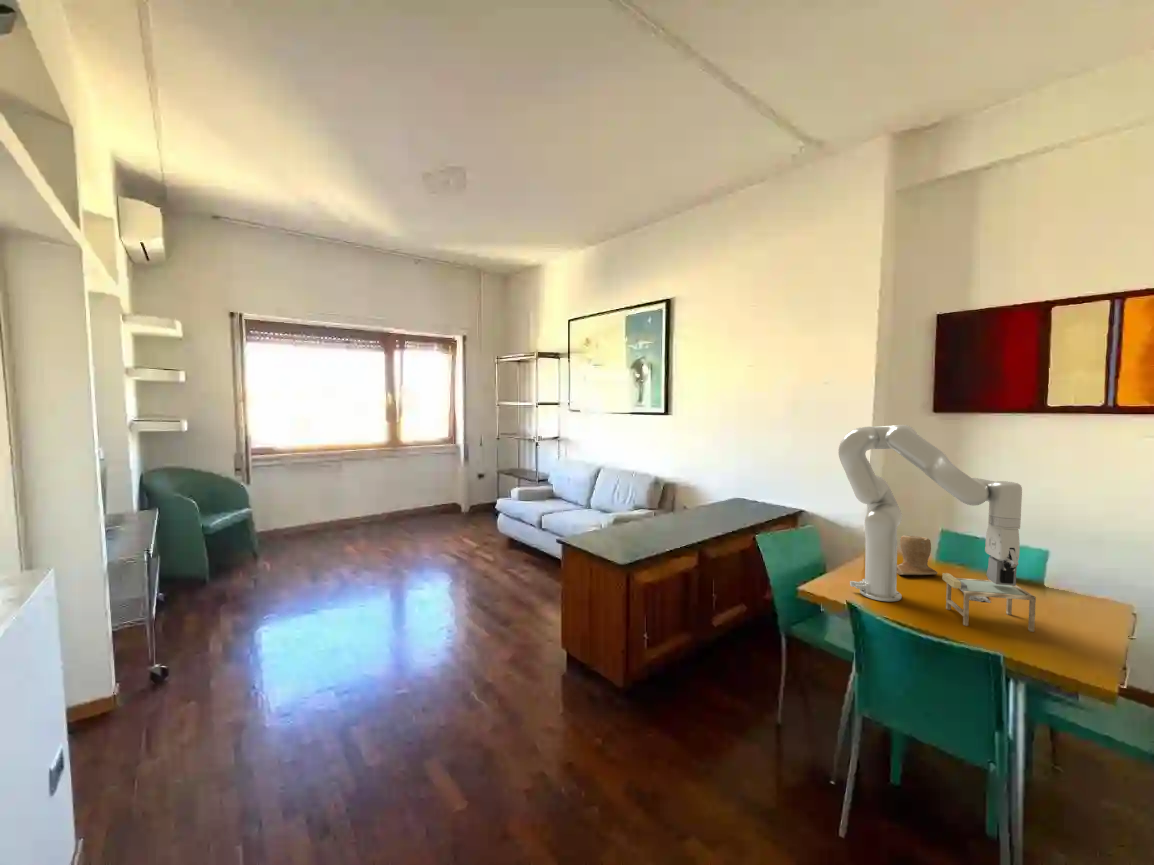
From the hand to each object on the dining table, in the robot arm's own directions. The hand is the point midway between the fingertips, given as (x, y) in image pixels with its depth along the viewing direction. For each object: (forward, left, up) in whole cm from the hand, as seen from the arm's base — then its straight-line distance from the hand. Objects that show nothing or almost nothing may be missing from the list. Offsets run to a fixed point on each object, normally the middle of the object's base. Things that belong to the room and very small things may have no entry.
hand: (1001, 579), depth 155 cm
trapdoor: (-5, 0, -4) cm, 6 cm away
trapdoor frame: (-3, 0, -13) cm, 14 cm away
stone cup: (-10, +42, -13) cm, 45 cm away
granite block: (0, 0, -1) cm, 1 cm away
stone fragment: (+2, +28, -14) cm, 31 cm away
